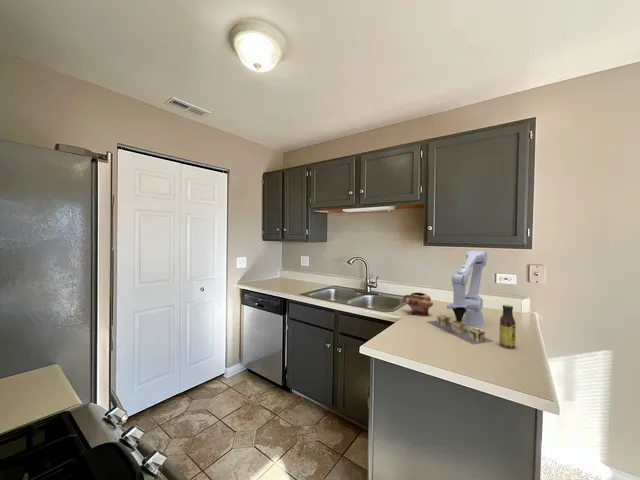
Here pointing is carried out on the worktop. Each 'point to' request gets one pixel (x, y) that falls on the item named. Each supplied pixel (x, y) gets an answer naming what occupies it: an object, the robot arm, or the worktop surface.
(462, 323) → the plain maple block
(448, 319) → the maple block marked 1
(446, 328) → the charcoal mat
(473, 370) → the worktop surface
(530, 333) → the worktop surface
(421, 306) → the decorative planter
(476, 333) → the maple block marked 7
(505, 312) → the sauce bottle
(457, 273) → the robot arm
